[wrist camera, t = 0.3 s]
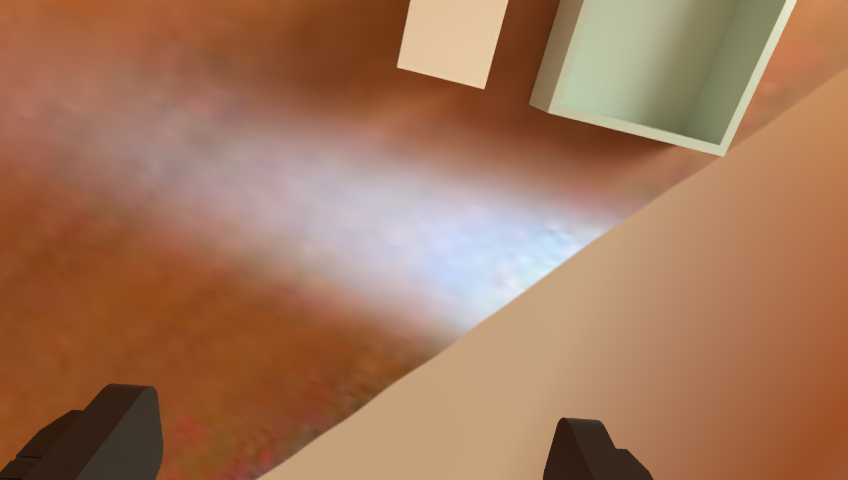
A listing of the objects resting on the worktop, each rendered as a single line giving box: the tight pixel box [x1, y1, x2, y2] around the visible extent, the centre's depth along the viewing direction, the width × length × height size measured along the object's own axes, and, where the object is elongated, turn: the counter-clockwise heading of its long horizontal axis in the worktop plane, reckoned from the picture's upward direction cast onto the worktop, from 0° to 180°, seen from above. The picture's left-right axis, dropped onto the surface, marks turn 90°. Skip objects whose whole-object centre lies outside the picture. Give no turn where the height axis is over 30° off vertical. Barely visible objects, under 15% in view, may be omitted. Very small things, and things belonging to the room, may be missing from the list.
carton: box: [397, 0, 508, 89], centre depth 29 cm, size 5×5×7 cm
